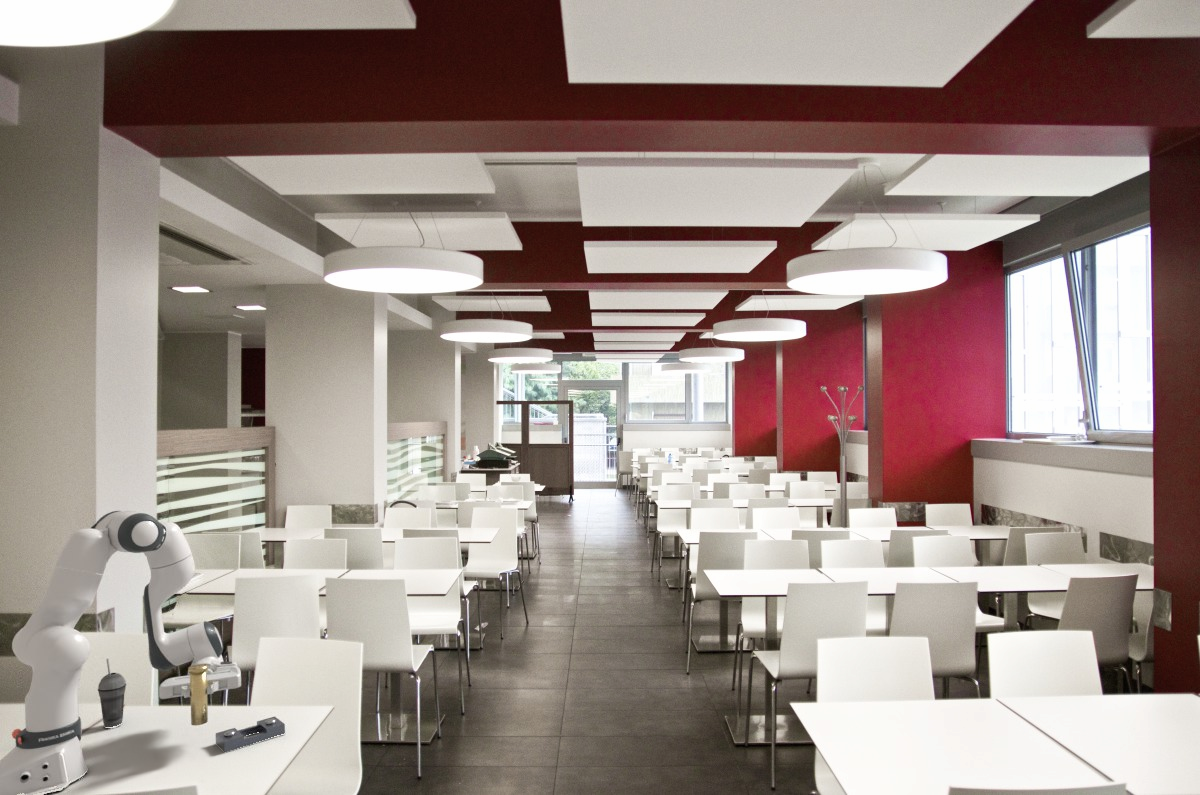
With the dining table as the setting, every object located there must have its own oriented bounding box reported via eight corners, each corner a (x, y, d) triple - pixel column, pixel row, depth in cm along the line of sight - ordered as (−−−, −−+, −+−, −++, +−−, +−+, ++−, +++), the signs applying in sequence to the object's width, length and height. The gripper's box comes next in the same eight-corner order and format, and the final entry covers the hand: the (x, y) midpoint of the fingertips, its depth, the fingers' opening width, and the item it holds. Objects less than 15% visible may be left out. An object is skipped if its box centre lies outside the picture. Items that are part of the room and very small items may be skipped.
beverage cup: (117, 730, 227) (115, 662, 227) (92, 731, 227) (91, 662, 227) (132, 720, 234) (131, 654, 234) (109, 721, 234) (107, 655, 235)
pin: (192, 727, 205) (190, 670, 205) (187, 722, 208) (186, 666, 209) (211, 722, 208) (210, 666, 208) (206, 717, 211) (205, 662, 212)
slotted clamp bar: (224, 752, 208) (224, 739, 208) (215, 744, 214) (215, 731, 214) (285, 734, 219) (284, 721, 219) (275, 726, 225) (274, 714, 225)
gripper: (162, 671, 216) (154, 687, 204) (242, 660, 224) (239, 675, 211) (162, 694, 216) (154, 711, 204) (242, 682, 224) (240, 698, 211)
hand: (198, 692), depth 207 cm, fingers closed on pin, 4 cm apart
